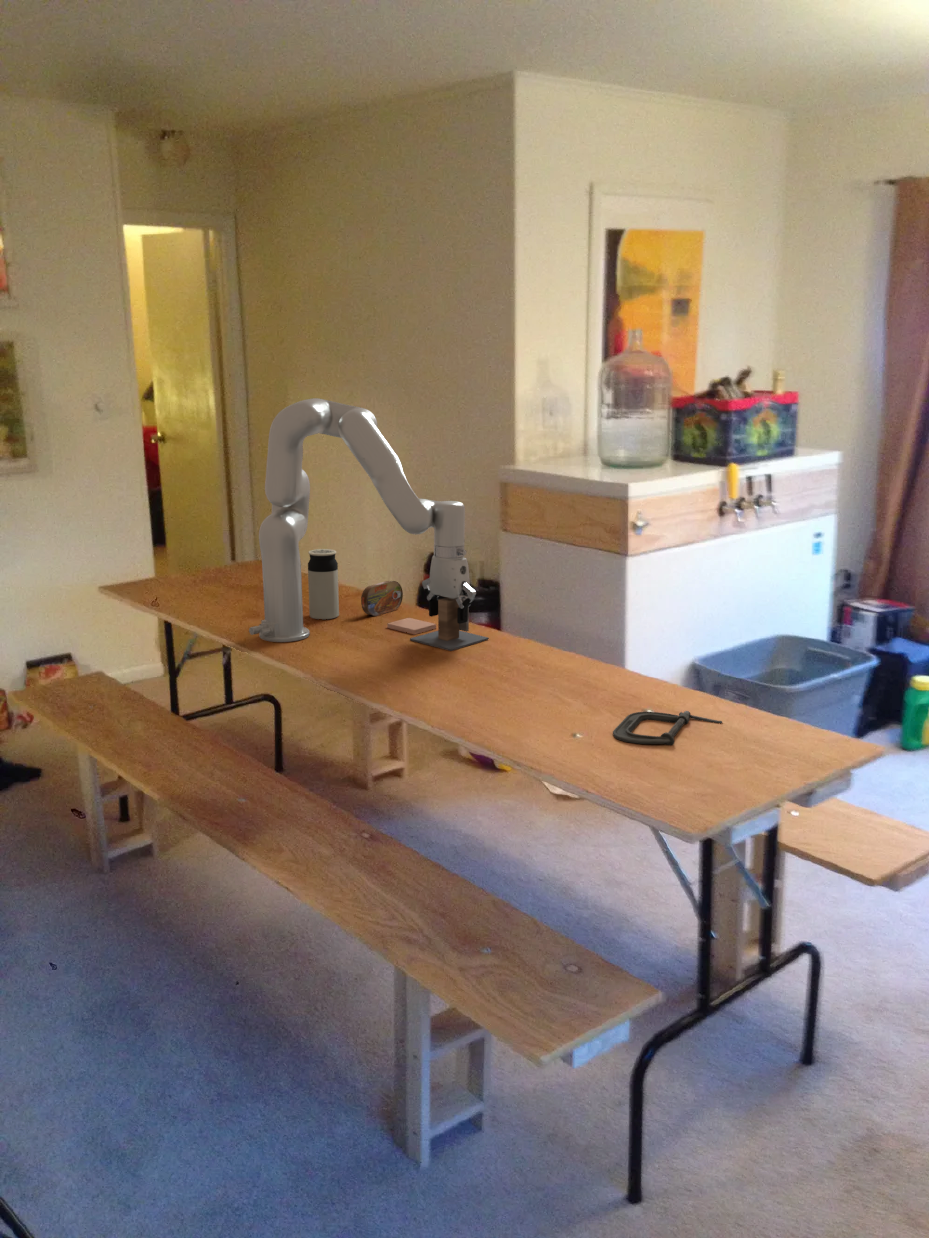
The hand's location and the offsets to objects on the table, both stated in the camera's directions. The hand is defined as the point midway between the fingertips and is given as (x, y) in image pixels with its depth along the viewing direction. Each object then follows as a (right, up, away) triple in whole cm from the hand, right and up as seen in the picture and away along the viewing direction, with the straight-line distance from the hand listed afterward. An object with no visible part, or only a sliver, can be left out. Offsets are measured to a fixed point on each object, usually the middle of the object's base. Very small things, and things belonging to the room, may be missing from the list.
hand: (448, 619), depth 267 cm
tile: (-12, -3, +9) cm, 16 cm away
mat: (0, -5, +1) cm, 5 cm away
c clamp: (+43, -22, -60) cm, 77 cm away
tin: (-19, +2, +29) cm, 34 cm away
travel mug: (-34, 0, +24) cm, 42 cm away
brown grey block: (0, -5, +1) cm, 5 cm away
